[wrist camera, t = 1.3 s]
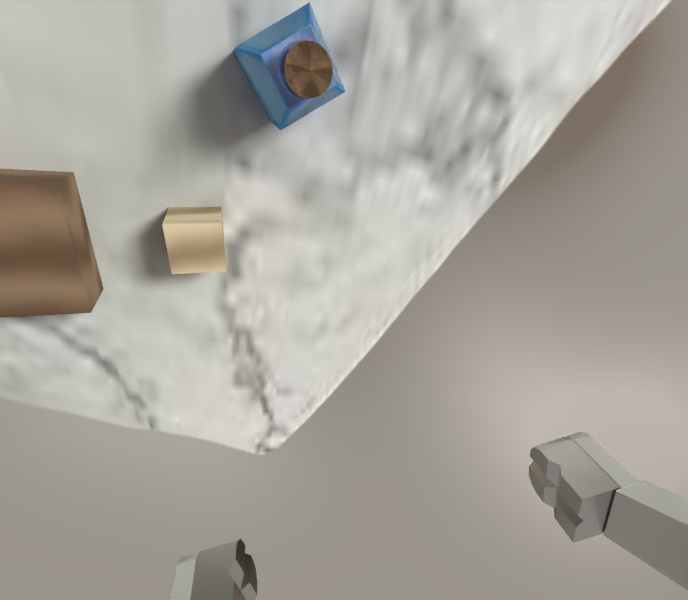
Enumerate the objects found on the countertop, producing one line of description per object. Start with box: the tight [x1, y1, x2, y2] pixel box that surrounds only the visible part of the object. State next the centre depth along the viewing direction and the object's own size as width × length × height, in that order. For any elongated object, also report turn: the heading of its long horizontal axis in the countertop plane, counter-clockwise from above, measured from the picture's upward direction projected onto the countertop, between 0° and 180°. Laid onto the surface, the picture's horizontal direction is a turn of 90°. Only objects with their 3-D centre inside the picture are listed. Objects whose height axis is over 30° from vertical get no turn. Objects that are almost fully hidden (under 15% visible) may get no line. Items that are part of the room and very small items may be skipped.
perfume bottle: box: [233, 3, 345, 130], centre depth 28 cm, size 6×6×12 cm
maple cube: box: [162, 207, 226, 274], centre depth 36 cm, size 5×5×5 cm
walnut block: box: [0, 169, 103, 317], centre depth 32 cm, size 12×12×5 cm
